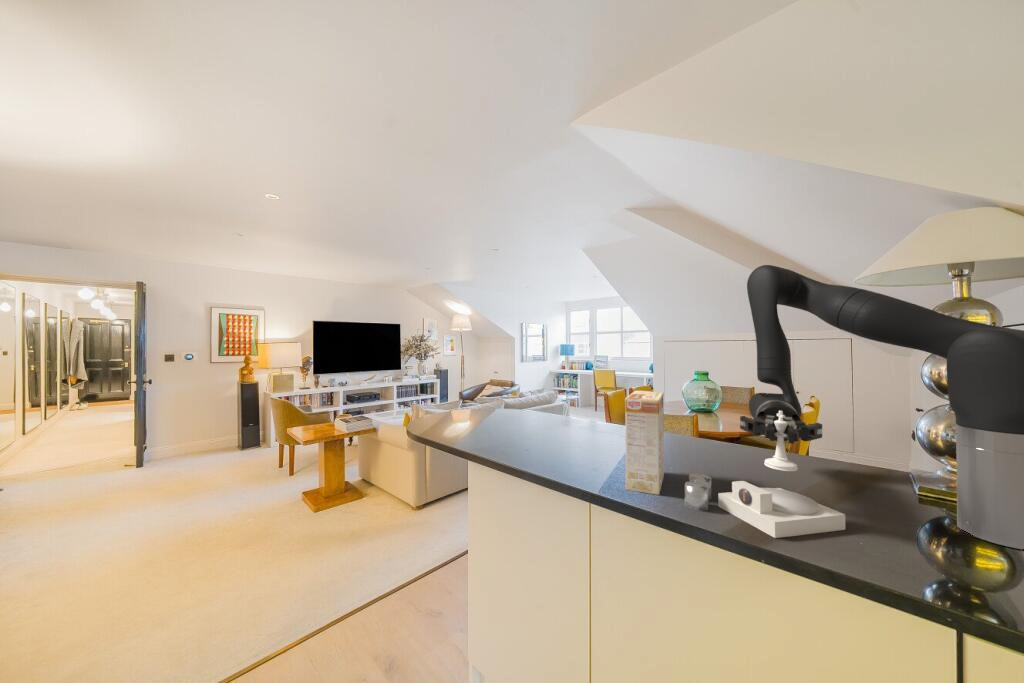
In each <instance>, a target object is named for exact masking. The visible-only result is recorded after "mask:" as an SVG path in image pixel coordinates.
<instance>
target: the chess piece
mask: <svg viewBox="0 0 1024 683" xmlns="http://www.w3.org/2000/svg"><path fill="white" fill-rule="evenodd" d="M777 416H778V417H779V420H776V421H774V424H775V426H776V429H777V433H774V436H776V437H778V438H777V441H776V447H775V452H774V453H775V454H774V455H772V457H768V458H765V459H764V463H763V465H765V466H766V467H767V468H770V469H773V470H777V471H782V472H796V471H798V470H799V468H798V464H797V463H795V462H793V461H791V460H789V457H787V452H786V447H785V446H786V445H785V441H784V438H786V437H788V435H787V434H785V433H784V432H785V429H786V426H787V424H788V423H787V422H786V421H784V420H783V418H785V415H783V411H779V414H777Z"/></svg>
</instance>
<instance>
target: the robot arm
mask: <svg viewBox="0 0 1024 683" xmlns="http://www.w3.org/2000/svg"><path fill="white" fill-rule="evenodd" d="M746 291H747V297H748V302H749V306H750V310H751V317H752V322H753V323H752V324H753V329H754V334H755V340H756V341H755V343H756V344H755V345H756V366H757V367H756V369H757V370H756V372H757V373H756V375H757V376H756V377H757V381H759V382H760V383H762V384H768V385H772V386H776V387H778V388H779V389H780V390H781V391H782V393H771V392H770V393H769V392H758V393H757V392H756V393H754V394H753V395H751V398H750V399H749V402H748V409H749V414H750V415H751V417H747V416H745V415H741V416H739V420H740V421H739V429H740V430H743V431H745V432H746V433H748V434H749V433H750V434H751V435H753V436H757V437H758V436H761V435H763V437H764V438H765V439H769V440H768V441H769V442H777V438H778V437H776V436H774V433H777V429H776V426H775V424H774V421H776V420H779V417H778V416H777V414H779V411H783V415H785V418H783V420H784V421H786V422H787V423H788V424H787V426H786V429H785V432H784V433H785V434H787V435H788V437H786V438H784V442H787V443H788V444H793V445H794V444H795V442H796V443H798V442H799V439H800V441H803V442H810V441H811V442H812V441H814V440H819V439H821V438H822V439H823V424H822V423H820V422H814V423H808V424H806V422H804V421H802V419H801V417H802V414H803V413H802V412H803V411H802V407H801V404H800V400H799V398H798V396H797V393H796V390H795V387H794V384H793V379H792V358H791V348H790V344H789V341H788V340H787V336H786V335H785V332H784V329H783V327H782V325H781V322H780V319H779V314H778V305H780V306H785V307H791V308H794V309H797V310H801V311H804V312H808V313H810V314H812V315H814V316H815V317H817V318H818V319H820V320H822V321H823V322H825V323H827V324H829V325H830V326H832V327H834V328H837V329H839V330H841V331H843V332H847V333H850V334H852V335H855V336H857V337H859V338H864V339H866V340H871V341H874V342H879V343H884V344H889V345H892V346H897V347H902V348H907V349H913V350H918V351H921V352H925V353H929V354H932V355H935V356H937V357H941V358H942V359H946V378H947V379H946V380H947V381H946V382H947V390H948V391H947V393H948V401H949V405H950V408H951V410H952V411H953V414H954V415H955V443H956V444H955V445H956V446H955V447H956V450H955V451H956V454H955V455H956V526H957V528H958V527H959V528H960V530H961V529H962V530H964V531H966V532H968V533H970V534H971V535H970V534H969V535H970V536H972V535H973V536H972V537H976V538H977V539H978V538H979V539H981V540H983V541H987V542H989V543H993V544H996V545H1000V546H1003V547H1004V546H1005V547H1007V548H1008V547H1009V548H1014V549H1019V550H1023V549H1024V330H1023V329H1018V328H1017V329H1016V328H1009V327H1006V326H1005V327H1003V326H999V325H992V324H987V323H983V322H977V321H972V320H967V319H963V318H959V317H955V316H952V315H947V314H945V313H941V312H938V311H936V310H932V309H930V308H927V307H925V306H922V305H918V304H916V303H912V302H909V301H906V300H902V299H899V298H897V297H893V296H890V295H886V294H883V293H879V292H875V291H872V290H868V289H863V288H859V287H858V288H857V287H854V286H847V285H838V284H830V283H829V284H828V283H825V282H821V281H817V280H815V279H812V278H810V277H808V276H805V275H804V274H801V273H798V272H796V271H794V270H791V269H790V268H789V269H788V268H785V267H779V266H778V265H777V266H776V265H772V264H763V265H761V266H758V267H756V268H755V269H754V270H752V272H751V273H750V274H749V276H748V279H747V282H746ZM959 528H958V529H959ZM962 530H961V531H962ZM964 531H963V532H964ZM966 532H965V533H966ZM968 533H967V534H968Z"/></svg>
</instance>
